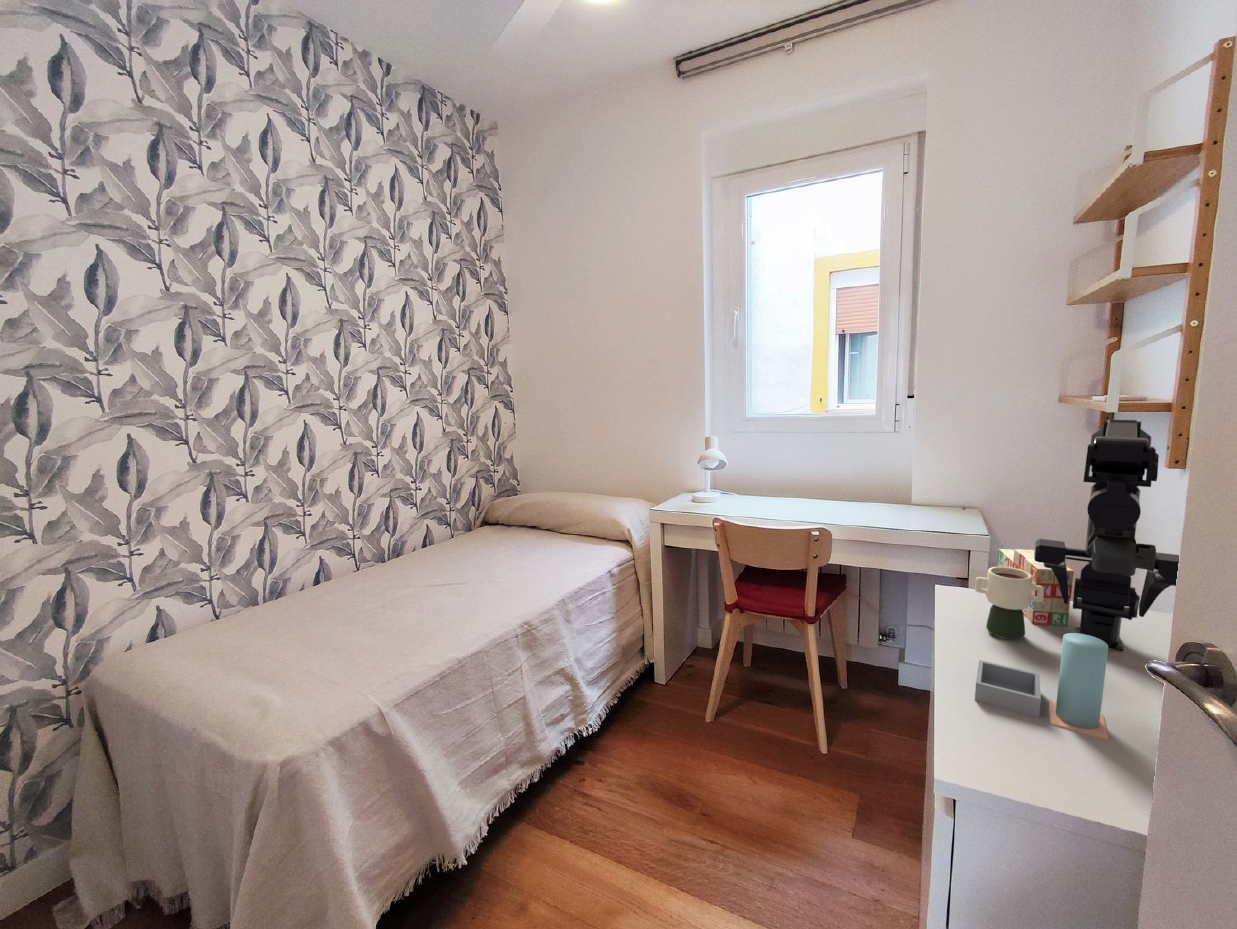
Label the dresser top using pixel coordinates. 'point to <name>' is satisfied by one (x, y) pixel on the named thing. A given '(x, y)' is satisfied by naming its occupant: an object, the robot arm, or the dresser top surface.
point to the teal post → (1081, 680)
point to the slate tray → (1008, 688)
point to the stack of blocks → (1053, 603)
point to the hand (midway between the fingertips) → (1102, 609)
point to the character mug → (1008, 600)
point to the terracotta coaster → (1058, 722)
